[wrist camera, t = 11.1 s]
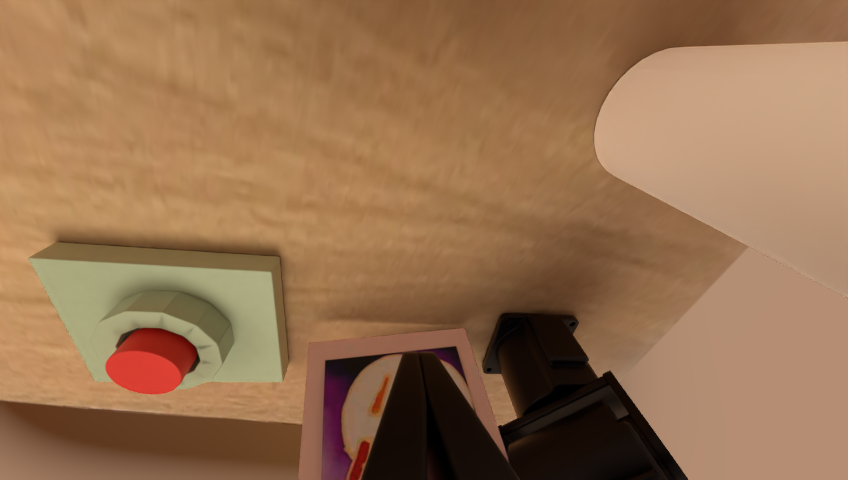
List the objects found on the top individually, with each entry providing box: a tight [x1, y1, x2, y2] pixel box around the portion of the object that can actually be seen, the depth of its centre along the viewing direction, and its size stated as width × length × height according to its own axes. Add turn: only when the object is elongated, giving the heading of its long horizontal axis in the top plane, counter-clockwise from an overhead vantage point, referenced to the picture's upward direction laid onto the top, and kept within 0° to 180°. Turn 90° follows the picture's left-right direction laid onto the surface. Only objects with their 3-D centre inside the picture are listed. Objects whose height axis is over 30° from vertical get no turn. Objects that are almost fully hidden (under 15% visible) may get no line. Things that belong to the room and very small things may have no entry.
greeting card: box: [299, 328, 509, 480], centre depth 20 cm, size 11×7×15 cm, turn 84°
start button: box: [105, 328, 197, 394], centre depth 18 cm, size 4×4×2 cm
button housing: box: [29, 242, 289, 389], centre depth 20 cm, size 10×12×4 cm
